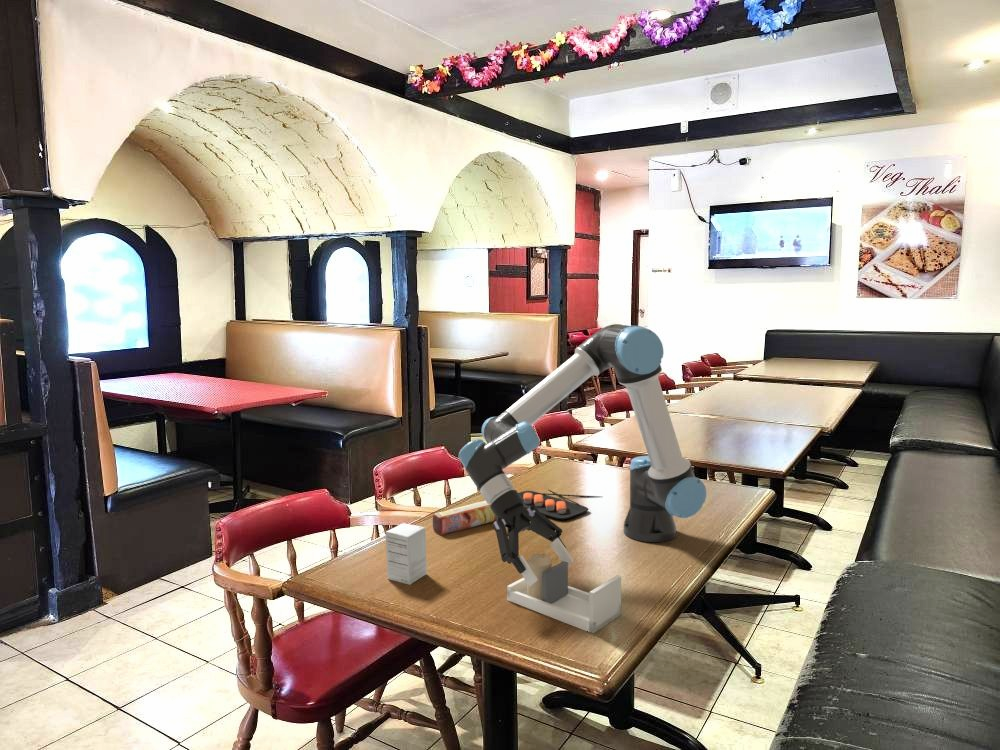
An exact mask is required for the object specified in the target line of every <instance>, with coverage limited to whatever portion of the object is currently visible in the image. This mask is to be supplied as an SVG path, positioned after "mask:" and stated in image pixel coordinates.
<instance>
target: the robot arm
mask: <svg viewBox="0 0 1000 750" xmlns="http://www.w3.org/2000/svg"><path fill="white" fill-rule="evenodd" d="M663 345H664V344H663V343H662V341H661V338H660V337H659V336H658V334H656V333H655V332H654V331H653V330H651V329H649V328H646V327H645V326H641V325H627V324H626V325H625V324H619V323H618V324H617V323H615V324H614V323H613V324H610V325H606V326H604V327H602V328H600V329H599V330H597V331H596V332H594V333H593V334H592V335H590V337H588V338H586V339H585V340H584V341H583V342H582V343H581V344H579V345H578V346H577V347H575V349H574V354H573V355H572V356H570V358H568V359H566V361H565V362H563V363H562V364H560V366H558V367H557V368H556V369H554V370H553V371H551V373H549V374H548V375H547V376H546V377H545V378H544V379H542V380H541V381H540V382H539V383H537V384H536V385H535V386H534V387H532V388H531V389H530V390H529V391H528V392H527V393H525V394H524V395H523V396H522V397H520V398H519V399H517V401H516V402H514V403H513V404H512V405H511V406H509V408H507V409H506V410H504V411H503V412H502V413H500V415H498V416H491V417H489V418H487V419H486V420H484V422H483V424H482V425H481V431H480V432H481V436H482V438H483V439H481V438H475V439H474V440H470V441H469V442H467V443H466V444H465V445H464V446H462V448H461V449H460V450H459V452H458V459H459V461H460V463H461V464H462V467H463V468H464V469H465V472H466V473H467V475H468V476H469V477H470V479H471V481H472V482H473V484H474V485H475V486H476V488H477V490H478V491H479V493H480V494H481V496H482V497H483V499H484V501H485V500H486V502H487V503H488V504H490V505H491V507H490V508H491V510H492V511H493V513H494V514H495V516H496V517H497V518H498V519H497V520H496V521H495V522H492V528H493V529H494V531H495V534H496V538H497V543H498V548H499V552H500V557H501V560H502V562H503V563H508V564H509V565H510V564H511V563H512V564H513V566H514V568H515V569H516V570H517V572H518V573H519V574H520V575H522V578H524V579H525V580H526V582H527V584H528V585H529V587H530V586H532V585H533V584H534V583H536V582H537V581H538V579H537V577H536V575H535V574H534V572H533V571H532V569H531V568H530V566H529V565H528V561H527V560H526V559H525V557H524V556H523V555H520V554H519V552H520V551H519V548H520V547H519V543H520V542H519V535H520V533H521V532H524V531H526V530H527V531H531V532H533V533H535V534H536V535H538V536H540V537H542V538H544V539H545V540H548V541H550V542H551V543H550V544H549V545H550V547H551V548H552V549H553V551H554V552H555V553H556V556H557V557H558V558H559V560H560V561H561V562H563V561H565V562H568V566H570V565H571V564H572V563H573V562H575V560H574V559H573V557H572V556H571V554H570V553H569V551H568V549H567V546H566V545H565V543H564V542H563V541H562V539H561V538H560V537H561V536H562V533H563V529H562V528H561V527H559V526H558V525H557V524H556V523H554V522H553V520H551V519H550V518H548V516H546V515H543V514H542V513H541V512H539V510H538V509H537V508H536V507H535V506H534V505H531V506H530V507H529V508H528V509H526V508H525V507H524V506H523V500H522V498H521V497H520V495H519V494H518V493H519V492H518V491H517V490H515V489H514V488H515V486H514V485H513V482H511V480H510V479H509V477H508V476H507V474H506V472H504V469H506V468H507V467H508V466H510V465H512V464H514V463H515V462H517V461H518V460H520V459H521V458H523V457H525V456H527V455H529V454H531V452H533V451H534V450H535V449H536V448H539V446H540V438H539V436H538V434H537V432H536V430H535V429H534V427H533V426H532V425H533V424H535V423H536V422H537V421H538V420H540V419H541V418H542V417H543V416H544V415H546V414H547V413H548V412H550V411H551V410H552V409H553V408H554V407H556V406H557V405H558V404H560V402H562V401H563V400H564V399H565V398H566V397H568V396H569V395H570V394H571V393H573V391H575V390H576V389H577V388H579V387H580V386H581V385H582V384H583V383H585V382H586V381H587V380H588V379H590V378H591V377H592V376H596V377H597V376H599V375H600V374H601V373H603V372H604V371H606V370H608V369H611V368H613V370H614V373H615V376H616V379H617V382H618V383H619V385H622V386H623V387H626V391H627V393H628V394H627V395H628V397H629V400H630V403H631V407H632V410H633V412H634V415H635V420H636V422H637V425H638V428H639V431H640V434H641V435H640V436H641V438H642V441H643V444H644V448H645V450H646V453H647V455H640V456H636V457H633V458H632V459H631V461H630V466H629V508H628V511H627V514H626V517H625V519H624V522H623V533H624V535H625V536H627V537H628V538H629V539H632V540H635V541H638V542H639V541H640V542H645V543H646V542H647V543H663V542H668V541H670V540H673V539H674V538H675V537H676V536H677V526H676V523H675V519H674V517H677V518H680V519H687V518H690V517H693V516H694V515H696V514H697V513H698V512H699V511H701V509H702V508H703V504H705V502H706V499H707V488H706V485H705V483H704V482H703V481H702V480H701V478H699V477H696V476H695V473H694V470H693V467H692V464H691V461H690V460H689V459H688V458H685V457H683V454H682V451H681V447H680V444H679V441H678V438H677V435H676V432H675V428H674V424H673V422H672V418H671V415H670V412H669V408H668V405H667V403H666V399H665V397H664V392H663V390H662V386H661V382H660V380H659V376H660V375H661V373H662V369H663V368H662V366H661V364H662V359H663V358H664V346H663Z"/></svg>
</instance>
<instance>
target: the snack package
mask: <svg viewBox="0 0 1000 750" xmlns="http://www.w3.org/2000/svg"><path fill="white" fill-rule="evenodd" d="M490 507H491V505H490V504H488V503H487V502H486V500H485V499H484V500H482V501H478V502H473V503H471V504H467V505H463V506H459V507H454V508H451V509H447V510H444V511H439V512H435V513H434V514H433V515H432V529H433V532H434V533H436V534H438V535H440V536H443V535H446V534H449V533H454V532H458V531H463V530H466V529H470V528H475V527H479V526H482V525H486V524H490V523H494V522H495V521H496V520H497V519H498V518H497V517H496V516H495V514H494V513H493V511H492V510H491V508H490Z"/></svg>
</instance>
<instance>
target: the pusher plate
mask: <svg viewBox="0 0 1000 750" xmlns="http://www.w3.org/2000/svg"><path fill="white" fill-rule="evenodd" d="M568 586H569V565H568V562H565V561H563V562H562V561H561V562H559V563H557V564H556V565H554V566H551V568H549V569H548V570H546V571H544V572H542V601H544V602H547V603H550V604H551V603H553V602H555V601H557V600H558V599H560V598H562V597H563V596H565V595H567V594H568Z"/></svg>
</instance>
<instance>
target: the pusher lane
mask: <svg viewBox="0 0 1000 750" xmlns="http://www.w3.org/2000/svg"><path fill="white" fill-rule="evenodd" d="M506 599H507V601H509V602H510V603H513V604H515V605H518V606H521V607H524V608H526V609H528V610H531V611H534V612H536V613H539V614H542V615H544V616H546V617H549V618H552V619H555V620H557V621H559V622H561V623H565V624H567V625H570V626H573V627H575V628H577V629H580V630H582V631H585V632H587V631H588V633H590V634H593V633H594V634H595V633H596V632H598V631H599V630H600V629H603V628H604V627H605V626H607V625H609V624H610V623H611V622H612V621H614V620H615V619H617V618H618V617H620V616H621V614H622V575H619V574H616V575H615V576H613V577H611V578H610V579H608V580H607V581H605V582H603V583H602V584H599V585H598V586H597V587H595V588H593V589H592V590H590V591H589V592H587V591H585V590H582V589H579V588H577V587H576V588H575V587H573V586H569V585H568V594H567V595H565V596H563V597H562V598H560V599H558V600H557V601H555V602H553V603H551V604H550V603H547V602H544V601H542V600H539V599H536V598H534V597H531V596H528V594H527V582H526V580H525V579H524V577H522V578H520V579H518V580H516V581H514V582H512V583H510V584H509V585H507V586H506Z"/></svg>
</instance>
